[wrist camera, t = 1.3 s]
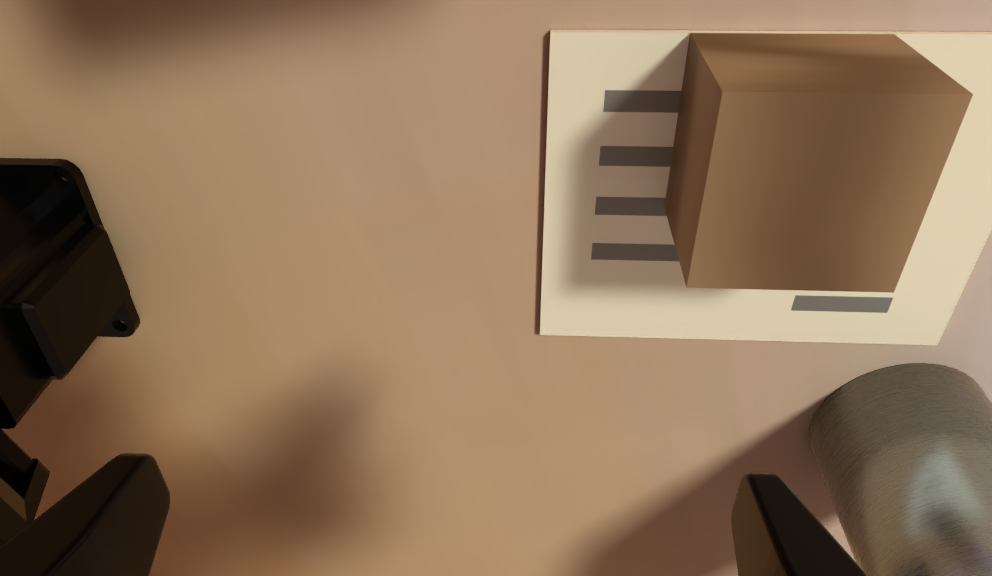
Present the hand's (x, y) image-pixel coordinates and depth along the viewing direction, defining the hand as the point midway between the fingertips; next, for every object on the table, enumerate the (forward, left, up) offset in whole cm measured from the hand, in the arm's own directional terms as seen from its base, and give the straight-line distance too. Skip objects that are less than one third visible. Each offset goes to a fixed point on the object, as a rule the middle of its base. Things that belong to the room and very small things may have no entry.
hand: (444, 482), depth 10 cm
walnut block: (+7, 0, -12) cm, 14 cm away
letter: (+8, -3, -13) cm, 15 cm away
